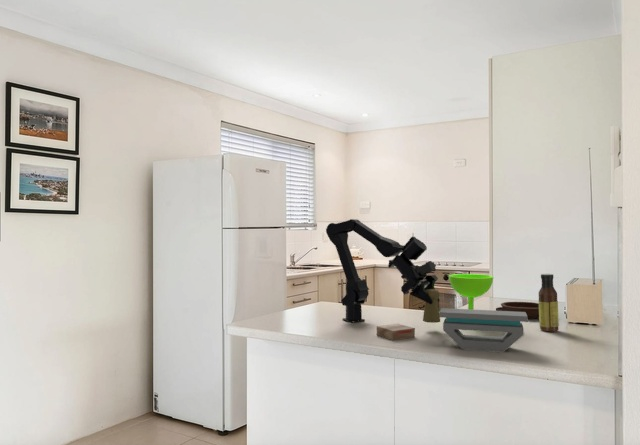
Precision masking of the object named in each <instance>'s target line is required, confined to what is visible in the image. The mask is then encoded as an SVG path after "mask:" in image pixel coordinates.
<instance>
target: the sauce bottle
mask: <svg viewBox="0 0 640 445" xmlns="http://www.w3.org/2000/svg"><path fill="white" fill-rule="evenodd" d="M554 278H555V277H554V274H552V273H541V274H540V279H541V287H540V289H539V291H538V303H539V318H538V320H539V321H538V322H539V329H540V330H541V331H543V332H548V331H549V332H550V333H553V332H554V331H556V332H558V331H559V329H560V328H559V326H560V323H559V321H560V320H559V302H558V292H557V291H556V289H555V287H554Z"/></svg>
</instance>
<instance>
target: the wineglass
mask: <svg viewBox="0 0 640 445" xmlns="http://www.w3.org/2000/svg"><path fill="white" fill-rule="evenodd" d="M448 278H449V283H450V286H451V287H452V289H453V290H454V291H455V292H456V293H457V294H459V295H461V296H462V297H465V298H467V304H468V306H467V307H468V308H467V309H471V310H475V309H474V303H475V302H474V298H478V297H481V296H483V295H485V294H486V293H487V292H488V291H489V290H490V289H491V286H492V285H493V281H494V276H493V275H489V274H481V273H479V274H477V273H456V274H449V275H448Z"/></svg>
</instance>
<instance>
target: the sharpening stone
mask: <svg viewBox="0 0 640 445" xmlns="http://www.w3.org/2000/svg"><path fill="white" fill-rule="evenodd" d="M439 317H440V318H444V320H443V323H442V326H443V328H442V330H443V332H444V333H445V334H446V335H447V336H448V337H449V338H450V339H451V340H452V341H453V342H454V343H455V344H456V345H457V346H458V347H459V348H460V349H461V350H465V351H477V352H478V351H481V352H492V351H495V352H494V353H504V352H505V351H506V350H508V349H509V348H510V347H512V346H513V344H515V343H516V341H518V340H519V339H521V338H522V337H524V325H523V323H522V322H525V323H526V322H527V323H528V320H529V319H528V316H527V314H526V312H515V311H496V310H490V309H474V310H471V309H468V308H465V309H464V308H451V307H450V308H447V307H446V308H445V307H441V308H440V309H439ZM462 330H463V331H477V332H494V333H495V332H496V333H505V334H503V335H502V336H491V335H490V336H488V335H474V334H463V332H462Z"/></svg>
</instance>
